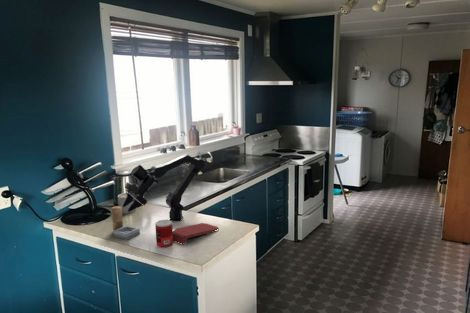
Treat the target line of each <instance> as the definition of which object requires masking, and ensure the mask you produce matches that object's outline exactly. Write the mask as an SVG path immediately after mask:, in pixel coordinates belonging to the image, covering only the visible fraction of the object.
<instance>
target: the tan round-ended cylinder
mask: <svg viewBox="0 0 470 313" xmlns="http://www.w3.org/2000/svg"><path fill="white" fill-rule="evenodd" d="M111 219H112V232H113V233H114V231H115V230H117V229H119V228H121V227H124V224H123V223H124V222H123V213H122V207H121V206H118V205H116V206H112V207H111Z"/></svg>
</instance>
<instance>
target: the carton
mask: <svg viewBox="0 0 470 313" xmlns="http://www.w3.org/2000/svg"><path fill="white" fill-rule="evenodd" d="M217 229H218V230H219V227H218V226H216V225H212V224H209V223H203V222H201V223H195V224H192V225H186V226H182V227H176V228H175V229H174V230H172V233H173V242H175V241H176V242H175V243H178V242H179V243H178V244H180V243H182V244H181V245H184V244H183V243H185V242H186V243H187V240H188V239H190V238H193V237H197V236H198V237H199V236H202V235H206V234H209V233H213V232H212V231H215V230H217ZM215 232H216V231H215ZM186 243H185V244H186Z"/></svg>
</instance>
